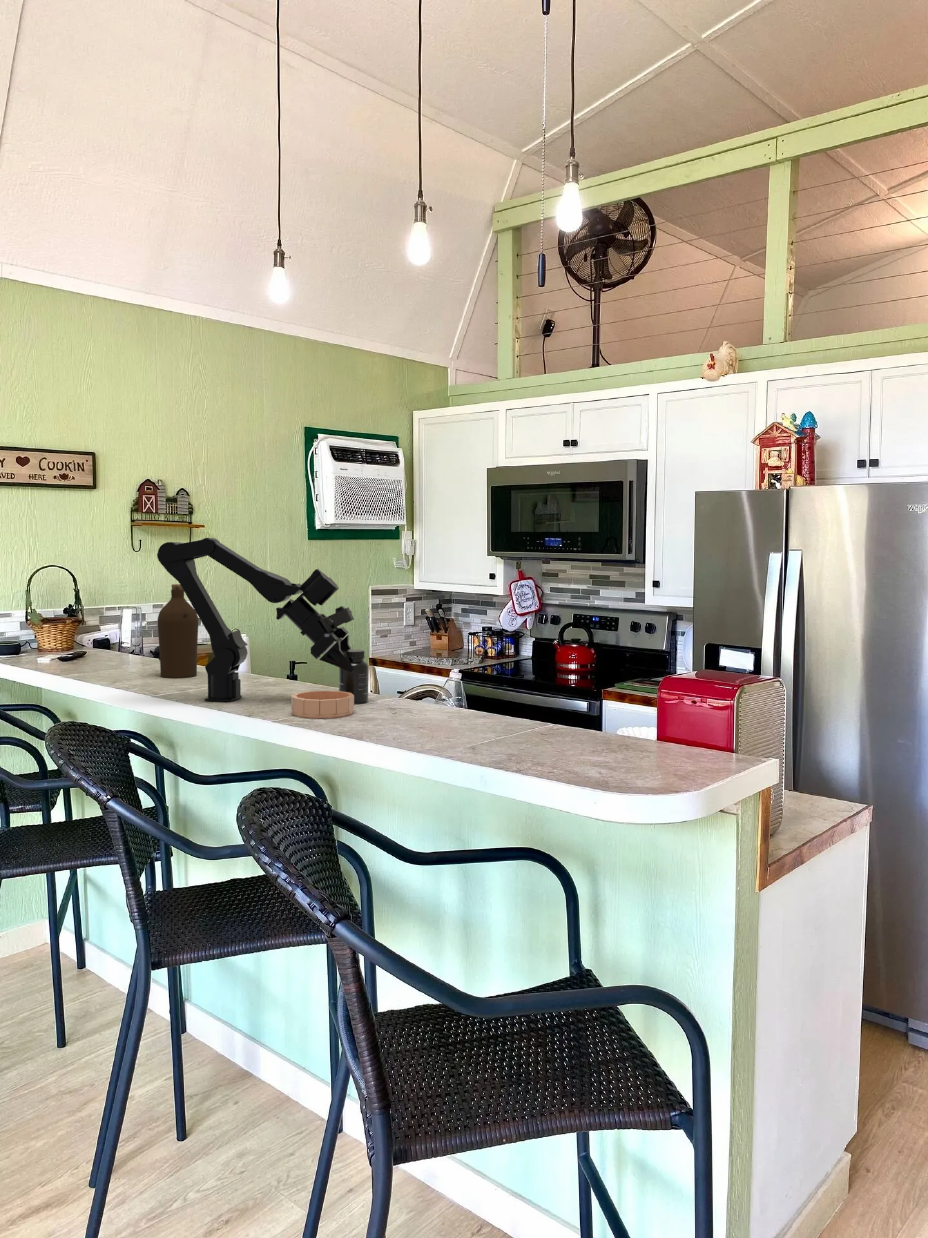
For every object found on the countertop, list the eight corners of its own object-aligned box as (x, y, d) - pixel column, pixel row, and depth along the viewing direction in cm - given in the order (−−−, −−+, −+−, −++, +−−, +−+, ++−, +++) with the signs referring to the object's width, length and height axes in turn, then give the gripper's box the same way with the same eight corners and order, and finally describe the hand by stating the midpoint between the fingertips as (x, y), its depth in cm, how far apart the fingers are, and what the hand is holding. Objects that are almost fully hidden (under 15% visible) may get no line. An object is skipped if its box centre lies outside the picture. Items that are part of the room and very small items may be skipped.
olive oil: (207, 674, 249) (206, 584, 247) (182, 679, 239) (181, 585, 237) (175, 672, 253) (173, 583, 251) (149, 677, 243) (148, 584, 241)
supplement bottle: (332, 702, 207) (332, 650, 206) (349, 698, 213) (350, 648, 212) (357, 705, 204) (357, 652, 203) (374, 701, 210) (374, 649, 209)
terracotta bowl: (282, 716, 189) (282, 698, 189) (305, 706, 202) (305, 689, 201) (341, 719, 186) (341, 701, 186) (360, 709, 199) (360, 691, 199)
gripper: (324, 597, 197) (375, 648, 198) (339, 593, 216) (385, 639, 216) (289, 633, 198) (339, 683, 199) (307, 625, 217) (352, 671, 217)
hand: (355, 667), depth 208 cm, fingers open, 9 cm apart
